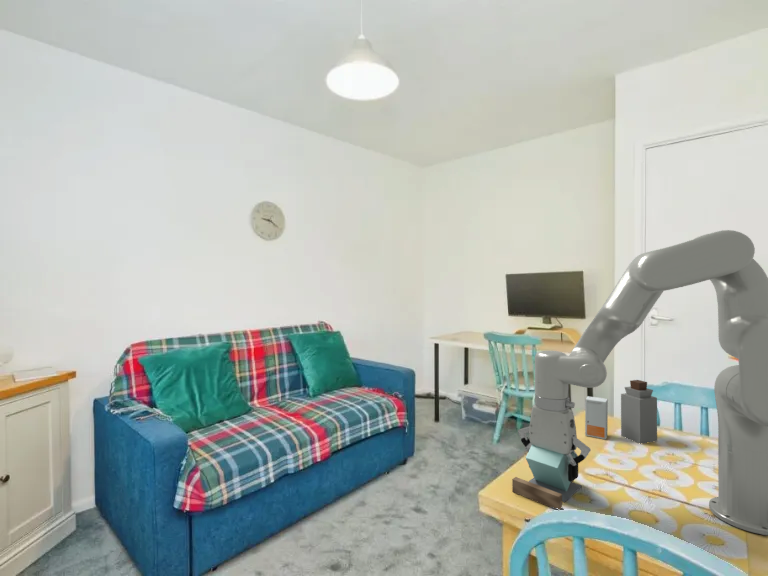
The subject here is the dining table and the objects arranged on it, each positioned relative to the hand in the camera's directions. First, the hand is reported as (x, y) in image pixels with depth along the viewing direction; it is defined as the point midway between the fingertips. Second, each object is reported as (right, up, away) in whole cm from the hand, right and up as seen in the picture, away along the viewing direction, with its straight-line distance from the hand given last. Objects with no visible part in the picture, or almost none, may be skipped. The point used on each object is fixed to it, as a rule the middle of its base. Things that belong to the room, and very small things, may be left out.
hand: (552, 472), depth 97 cm
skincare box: (+27, -3, +31) cm, 41 cm away
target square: (0, -3, 0) cm, 3 cm away
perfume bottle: (+39, -3, +28) cm, 49 cm away
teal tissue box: (+2, -1, +2) cm, 3 cm away
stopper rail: (-6, -3, -6) cm, 9 cm away
